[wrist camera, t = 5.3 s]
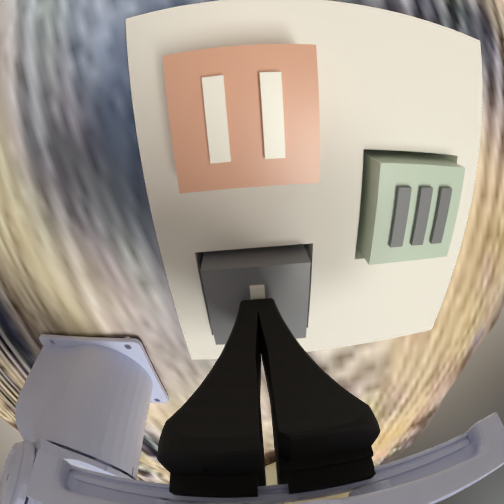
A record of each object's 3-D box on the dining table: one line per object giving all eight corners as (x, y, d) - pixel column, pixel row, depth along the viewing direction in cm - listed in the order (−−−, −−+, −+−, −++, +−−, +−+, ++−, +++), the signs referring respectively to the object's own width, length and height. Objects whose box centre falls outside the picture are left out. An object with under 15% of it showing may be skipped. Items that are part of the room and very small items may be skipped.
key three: (347, 232, 14) (370, 267, 12) (352, 146, 12) (382, 164, 10) (418, 228, 14) (449, 258, 12) (429, 150, 12) (468, 169, 9)
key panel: (196, 329, 18) (191, 359, 16) (145, 30, 9) (125, 18, 7) (415, 305, 18) (431, 329, 16) (449, 42, 9) (479, 40, 7)
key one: (218, 305, 17) (215, 347, 14) (206, 236, 14) (199, 273, 12) (296, 299, 17) (306, 340, 14) (297, 229, 14) (311, 264, 12)
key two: (193, 169, 12) (178, 195, 9) (181, 64, 9) (161, 55, 7) (301, 161, 12) (321, 185, 9) (297, 56, 9) (317, 43, 7)
